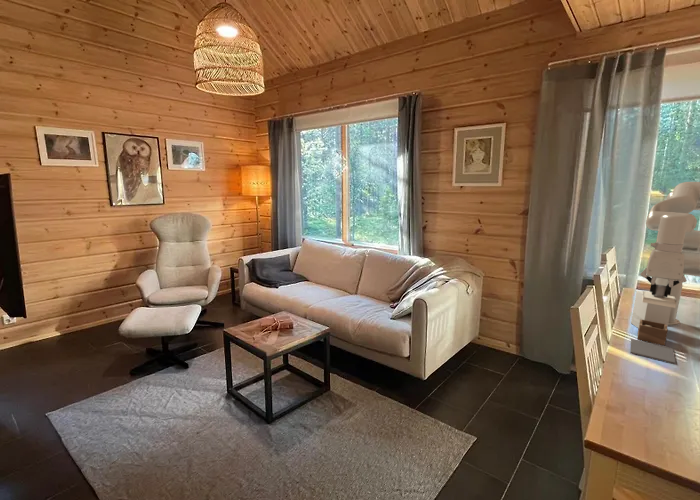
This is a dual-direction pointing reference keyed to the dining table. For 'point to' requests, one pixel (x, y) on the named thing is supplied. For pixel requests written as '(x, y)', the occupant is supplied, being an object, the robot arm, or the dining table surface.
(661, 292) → the lid
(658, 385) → the dining table surface
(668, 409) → the dining table surface
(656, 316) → the supplement box
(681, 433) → the dining table surface
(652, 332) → the storage box
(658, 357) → the mat
